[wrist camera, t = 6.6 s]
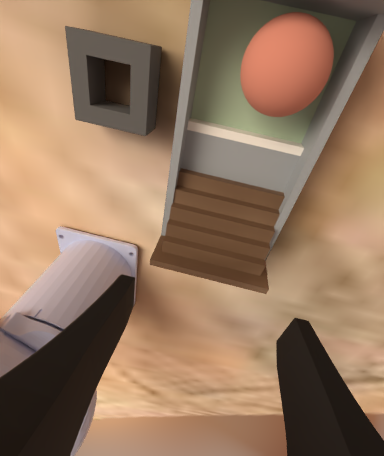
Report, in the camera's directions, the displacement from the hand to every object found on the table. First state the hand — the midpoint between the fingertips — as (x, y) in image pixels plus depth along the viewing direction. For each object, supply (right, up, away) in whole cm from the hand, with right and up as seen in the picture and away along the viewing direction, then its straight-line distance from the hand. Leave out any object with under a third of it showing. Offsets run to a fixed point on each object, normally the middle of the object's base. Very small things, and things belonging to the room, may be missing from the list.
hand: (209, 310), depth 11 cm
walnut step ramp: (+2, +6, +8) cm, 10 cm away
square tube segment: (-5, +13, +4) cm, 14 cm away
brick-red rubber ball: (+4, +11, 0) cm, 12 cm away
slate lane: (+2, +9, +5) cm, 11 cm away
